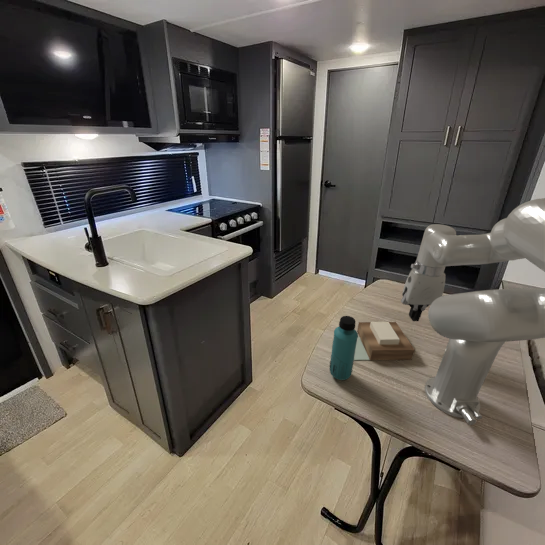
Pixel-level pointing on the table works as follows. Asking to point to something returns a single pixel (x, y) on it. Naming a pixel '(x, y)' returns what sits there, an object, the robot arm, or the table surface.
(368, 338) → the flat brown wooden block
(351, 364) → the beverage bottle
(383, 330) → the cream rectangular block
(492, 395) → the table surface
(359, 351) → the mat
